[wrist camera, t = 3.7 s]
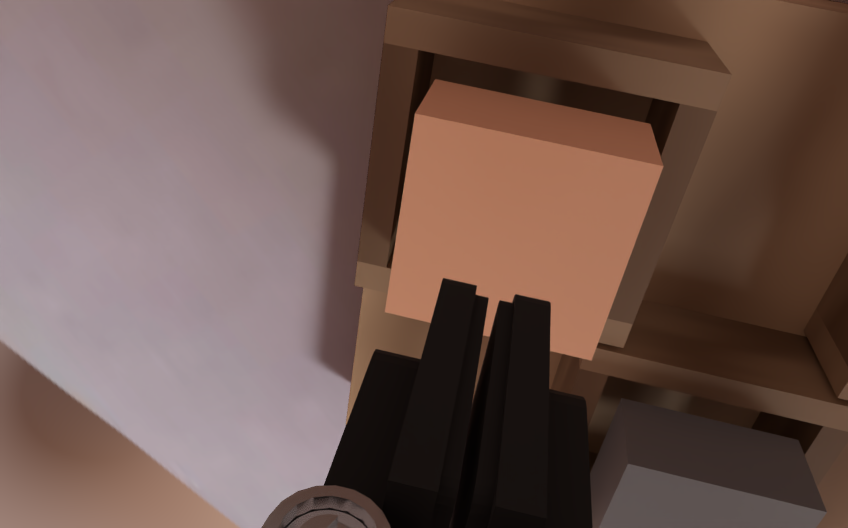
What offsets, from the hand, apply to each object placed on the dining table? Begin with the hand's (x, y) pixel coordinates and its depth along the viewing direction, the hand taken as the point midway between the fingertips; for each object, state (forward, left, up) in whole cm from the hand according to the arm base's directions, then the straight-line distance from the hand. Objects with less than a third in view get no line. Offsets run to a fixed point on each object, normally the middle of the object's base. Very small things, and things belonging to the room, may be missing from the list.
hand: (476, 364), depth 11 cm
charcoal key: (-7, +8, -7) cm, 12 cm away
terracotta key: (0, 0, -6) cm, 7 cm away
